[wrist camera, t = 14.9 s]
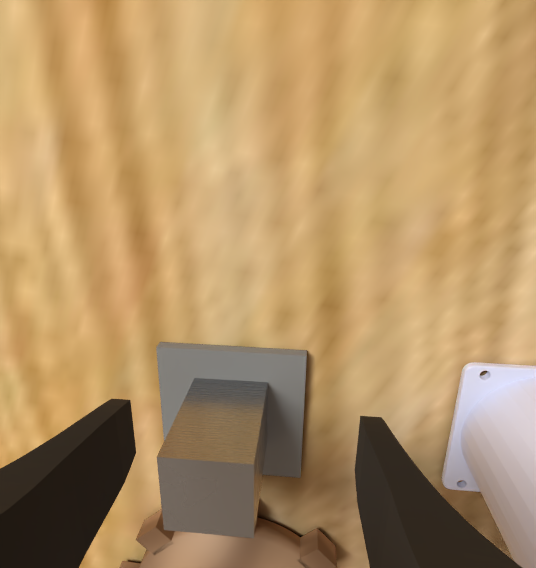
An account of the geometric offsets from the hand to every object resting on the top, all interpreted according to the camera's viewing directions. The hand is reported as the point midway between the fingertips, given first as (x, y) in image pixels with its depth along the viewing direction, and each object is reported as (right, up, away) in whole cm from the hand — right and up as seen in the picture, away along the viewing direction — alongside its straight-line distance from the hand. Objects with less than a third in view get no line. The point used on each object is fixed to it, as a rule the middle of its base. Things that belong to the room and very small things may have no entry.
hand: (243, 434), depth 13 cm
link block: (-1, -2, +10) cm, 11 cm away
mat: (-1, -2, +11) cm, 11 cm away
